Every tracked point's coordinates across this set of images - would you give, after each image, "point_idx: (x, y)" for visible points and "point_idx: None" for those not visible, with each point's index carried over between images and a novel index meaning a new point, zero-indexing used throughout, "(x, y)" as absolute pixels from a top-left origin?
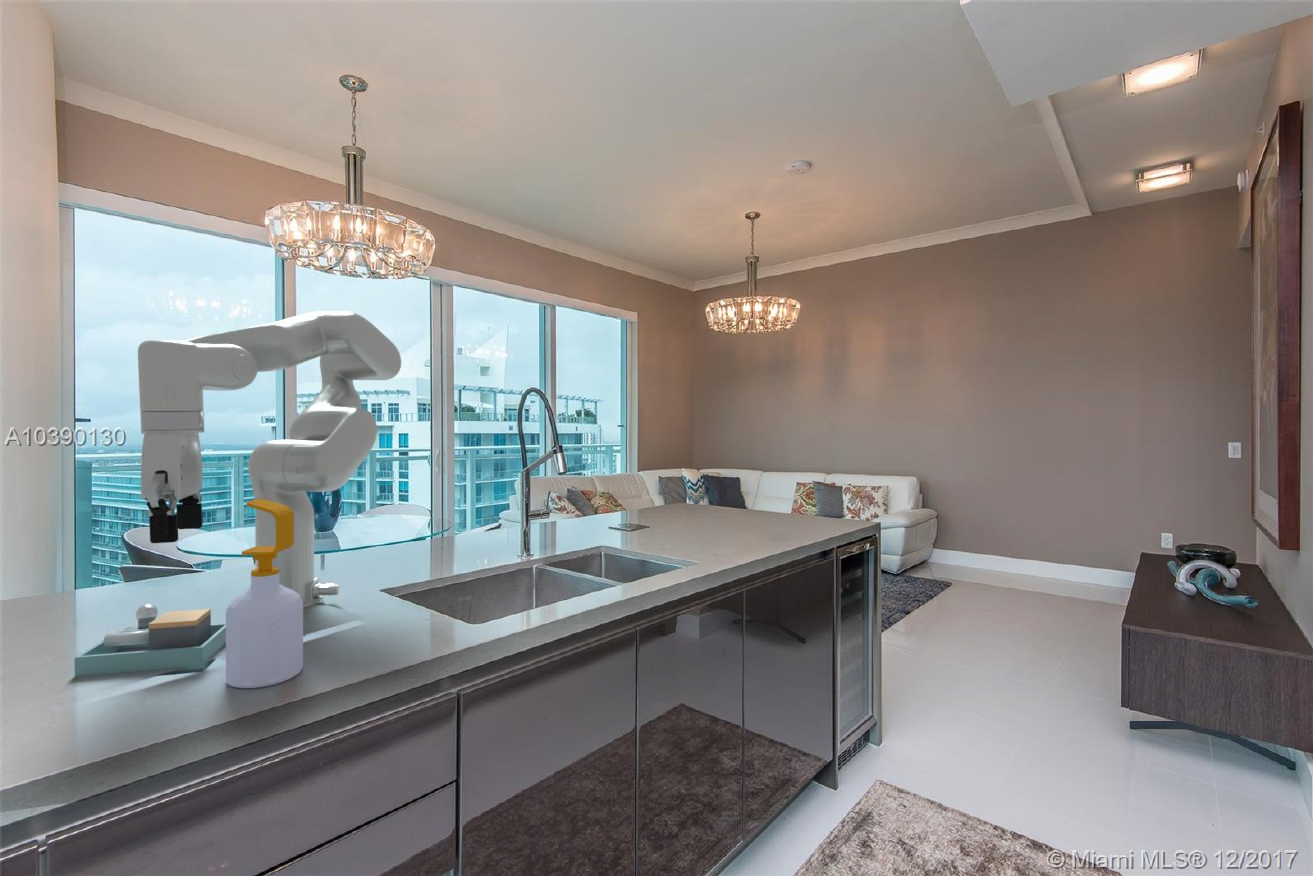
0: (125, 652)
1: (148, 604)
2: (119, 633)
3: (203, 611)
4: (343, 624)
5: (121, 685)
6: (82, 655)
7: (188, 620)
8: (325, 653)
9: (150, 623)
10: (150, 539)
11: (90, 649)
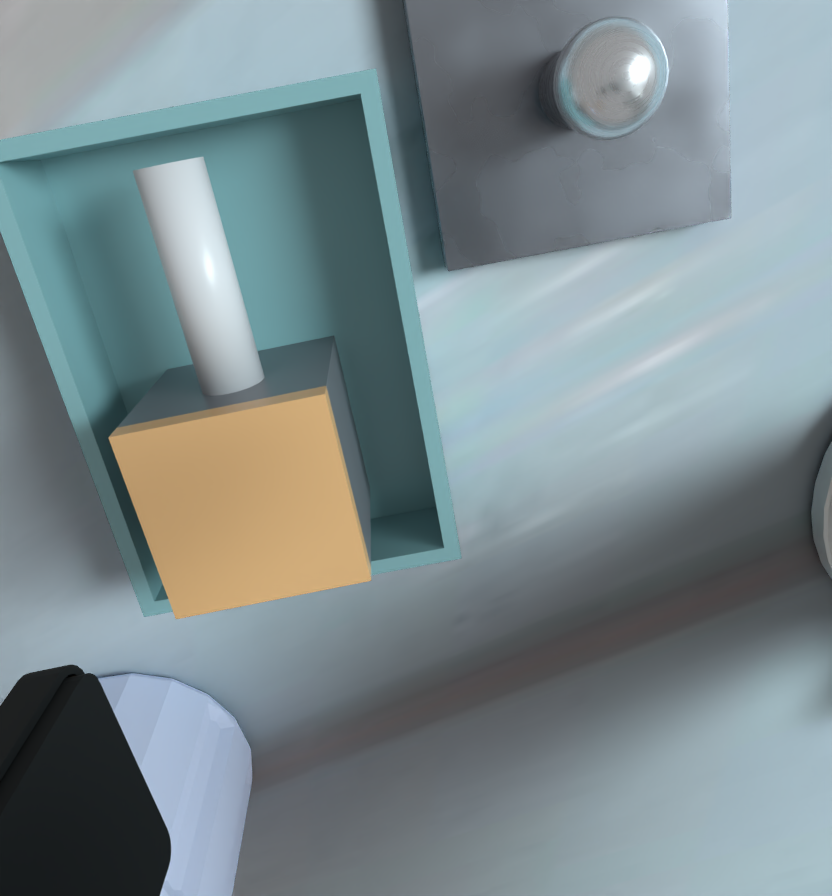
0: (57, 347)
1: (640, 77)
2: (173, 228)
3: (325, 572)
4: (640, 780)
5: (29, 353)
6: (6, 160)
7: (173, 589)
8: (337, 833)
9: (115, 443)
10: (16, 692)
11: (85, 138)
